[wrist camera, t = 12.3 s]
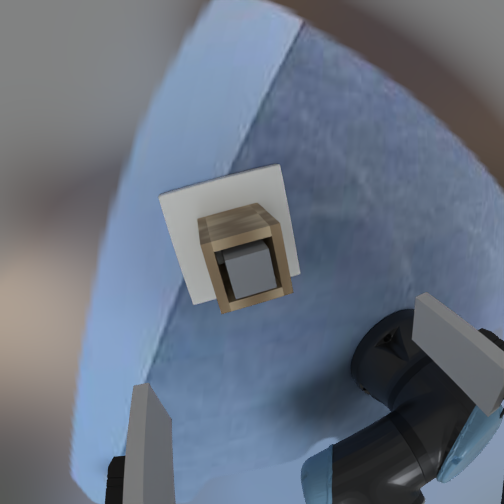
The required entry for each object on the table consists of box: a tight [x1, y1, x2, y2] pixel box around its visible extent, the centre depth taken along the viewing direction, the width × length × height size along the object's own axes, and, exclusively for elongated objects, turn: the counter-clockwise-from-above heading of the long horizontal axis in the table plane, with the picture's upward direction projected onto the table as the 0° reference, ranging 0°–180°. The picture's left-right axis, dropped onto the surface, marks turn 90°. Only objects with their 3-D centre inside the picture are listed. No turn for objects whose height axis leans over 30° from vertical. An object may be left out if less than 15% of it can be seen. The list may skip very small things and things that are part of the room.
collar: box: [197, 203, 293, 314], centre depth 27 cm, size 6×6×8 cm
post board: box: [158, 164, 300, 305], centre depth 27 cm, size 12×12×10 cm
